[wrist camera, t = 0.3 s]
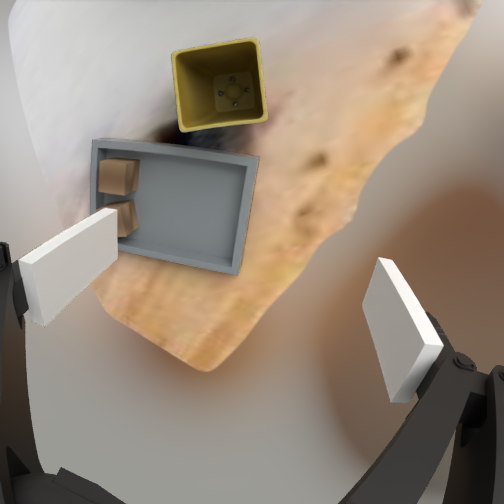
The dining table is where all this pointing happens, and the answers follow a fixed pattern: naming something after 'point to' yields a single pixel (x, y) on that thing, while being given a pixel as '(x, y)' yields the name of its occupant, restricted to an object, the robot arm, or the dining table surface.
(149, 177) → the tray
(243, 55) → the flower pot
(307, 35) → the dining table surface
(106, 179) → the walnut block
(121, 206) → the walnut block
